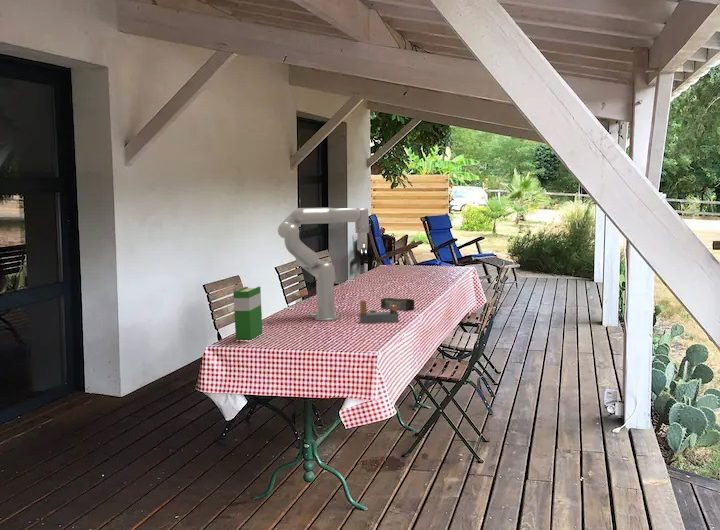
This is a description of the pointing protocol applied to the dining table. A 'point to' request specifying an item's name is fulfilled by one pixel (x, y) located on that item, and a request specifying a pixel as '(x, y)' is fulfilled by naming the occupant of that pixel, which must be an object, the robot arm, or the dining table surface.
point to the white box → (372, 311)
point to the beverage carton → (398, 303)
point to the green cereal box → (247, 313)
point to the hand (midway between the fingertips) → (363, 260)
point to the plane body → (377, 315)
